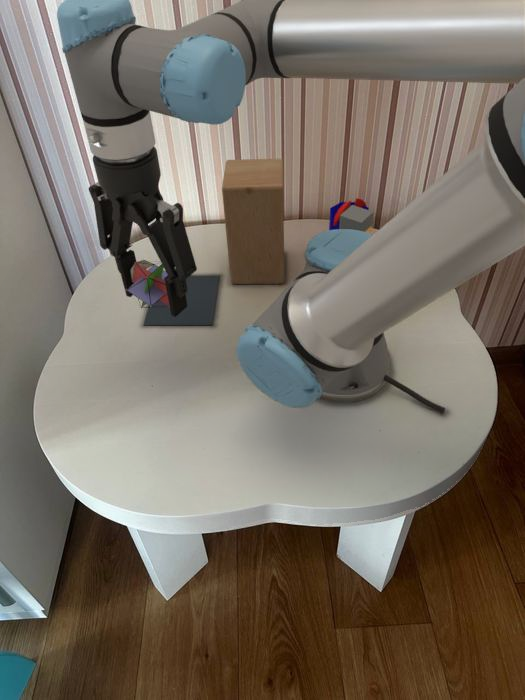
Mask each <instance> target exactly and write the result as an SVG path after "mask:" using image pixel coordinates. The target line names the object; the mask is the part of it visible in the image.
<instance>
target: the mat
mask: <svg viewBox="0 0 525 700" xmlns="http://www.w3.org/2000/svg"><path fill="white" fill-rule="evenodd" d="M220 279H221V275H191V276H189V277H188V278H187V279H186V283H187V284H186V285H187V289H188V291H187V293H186V300H187V307H186V308H185V309H184V310H183V311H182V312H181V313H180V314H179V315H177V316H176V317H174V316H172V315H171V311H170V307H169V306H168V305H167V304H165V303H164V302H162V301H161V300H159V299H158V300H159V301H158V300H157V301H158V302H157V301H156V302H157V303H156V302H155V304H154V305H153V306H164V307H153V308H147V310H146V315H145V319H144V321H143V326H145V327H149V326H150V327H152V326H153V327H156V326H161V327H163V326H164V327H167V326H170V327H171V326H172V327H174V326H176V327H177V326H178V327H179V326H180V327H181V326H183V327H184V326H185V327H187V326H188V327H190V326H191V327H195V326H196V327H197V326H199V327H200V326H201V327H204V326H205V327H207V326H208V327H211V326H213V325H214V324H213V323H214V316H215V311H216V305H217V304H216V303H217V298H218V291H219V285H220Z"/></svg>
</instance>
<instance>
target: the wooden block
mask: <svg viewBox="0 0 525 700" xmlns="http://www.w3.org/2000/svg"><path fill="white" fill-rule="evenodd" d="M224 164H225V165H224V171H223V179H222V187H221V194H222V203H223V204H222V205H223V214H224V223H225V224H224V226H225V235H226V247H227V257H228V268H229V278H230V283H231V285H266V284H267V285H269V284H270V285H271V284H278V285H279V284H284V282H285V219H284V217H285V215H284V213H285V212H284V209H285V208H284V207H285V206H284V204H285V203H284V201H285V200H284V160H283V158H253V159H252V158H249V159H247V158H246V159H226V161H225V163H224Z"/></svg>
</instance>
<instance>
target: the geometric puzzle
mask: <svg viewBox="0 0 525 700" xmlns="http://www.w3.org/2000/svg"><path fill="white" fill-rule="evenodd" d="M156 262H157V263H156ZM159 264H160V265H159ZM158 265H159V266H158ZM130 271H131V277H130V278H132V282H131V283H134V284H133V285H132V286H131V287H127V290H126V291H127V292H130V293H131V294H133V296H134V297H135V298H137V300H138V302H136V303H137V304H138V306H139V307H140V309H148V308H153V307H164V306H153V305H154V304H155V302H156V301H157V300H158V299H159V300H161V301H162V302H164V303H165V304H167V305H168V306H169V300H168V295H167V290H166V285H165V280H164V278H165V277H166V276H168V274H167V273H166V271H165V269H164V267H163V265H162V263H161V261H160V260H159V261H155V263H153V262H152V261H148V260H146V259H141V260H139V261H136V262H135V264H134V265H133V267H132V268H131V270H130ZM130 285H131V284H130ZM130 285H129V286H130ZM133 296H131V298H133V299H134V297H133ZM159 300H158V301H159ZM140 301H142V302H140ZM158 301H157V302H158ZM157 302H156V303H157ZM145 305H148V306H145ZM169 307H170V306H169Z"/></svg>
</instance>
